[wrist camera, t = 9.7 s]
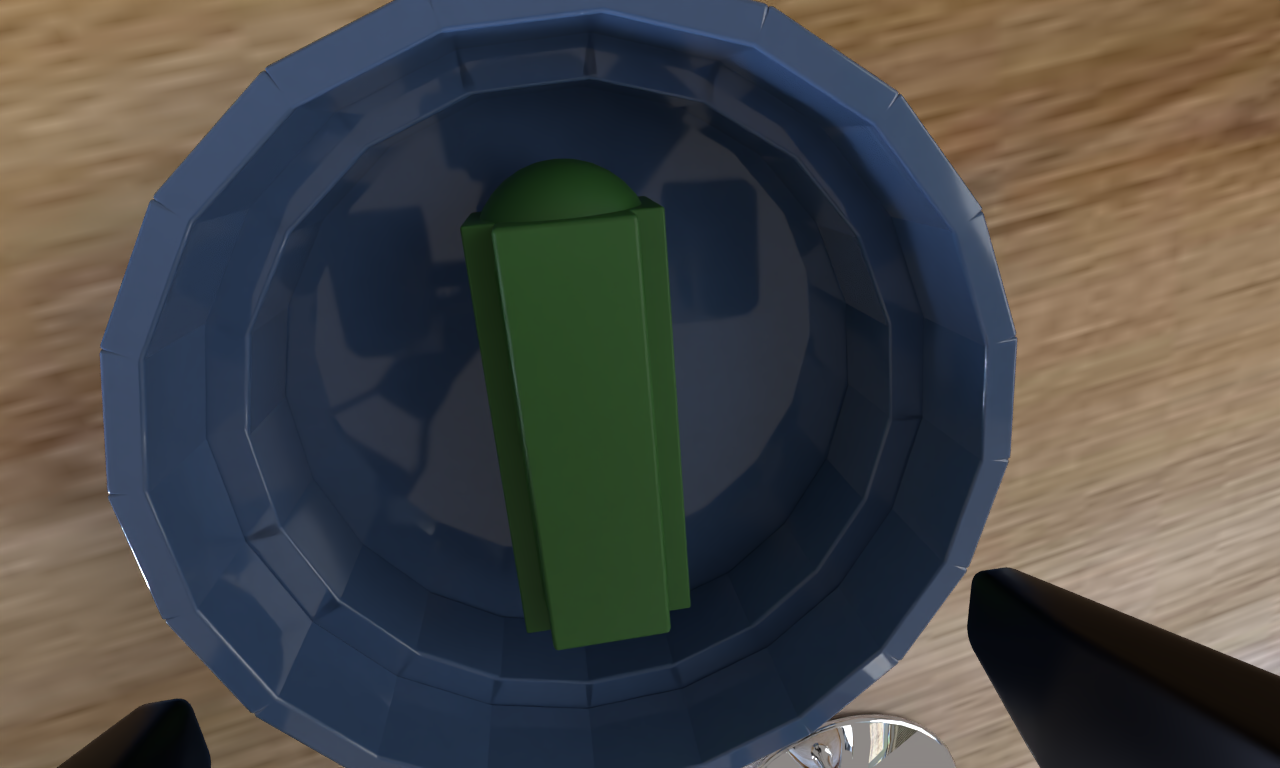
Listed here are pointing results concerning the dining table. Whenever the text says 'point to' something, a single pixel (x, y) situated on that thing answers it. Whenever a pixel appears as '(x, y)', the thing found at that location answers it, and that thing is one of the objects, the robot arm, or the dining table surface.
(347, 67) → the bowl
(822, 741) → the wineglass
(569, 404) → the green domed grooved pillar
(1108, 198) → the dining table surface
